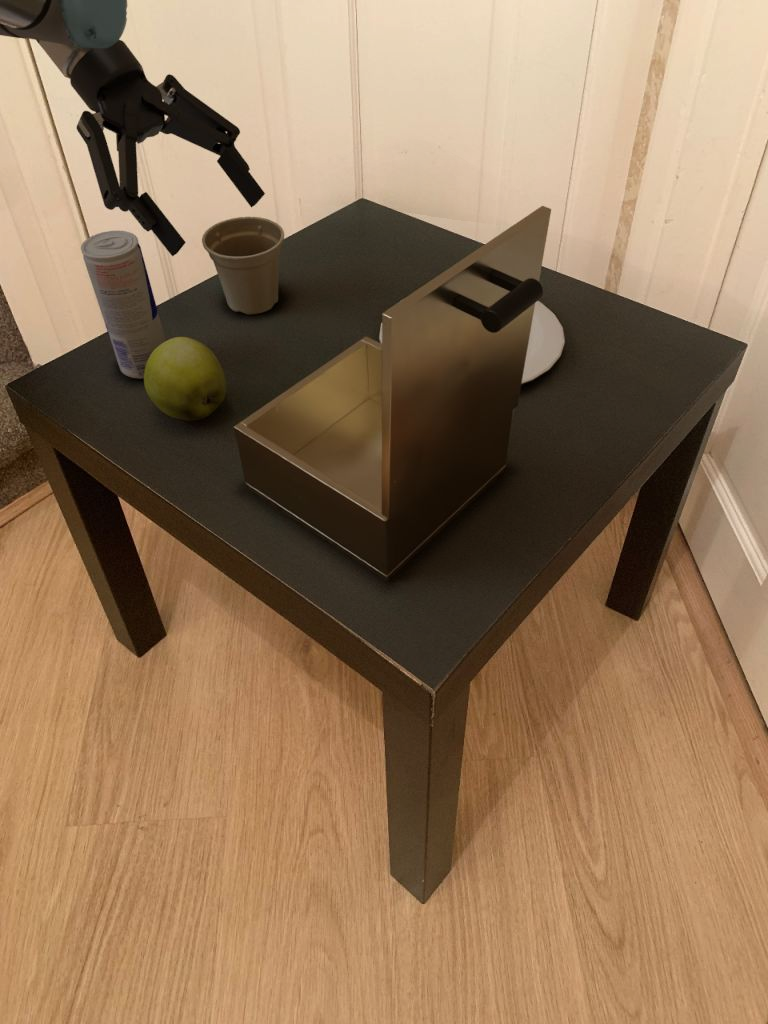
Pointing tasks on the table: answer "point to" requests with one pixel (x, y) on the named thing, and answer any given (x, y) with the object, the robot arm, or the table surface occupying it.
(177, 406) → the apple
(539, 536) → the table surface
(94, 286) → the beverage can
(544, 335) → the plate
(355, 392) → the bronze square open box
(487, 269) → the lid
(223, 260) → the flower pot
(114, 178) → the robot arm
